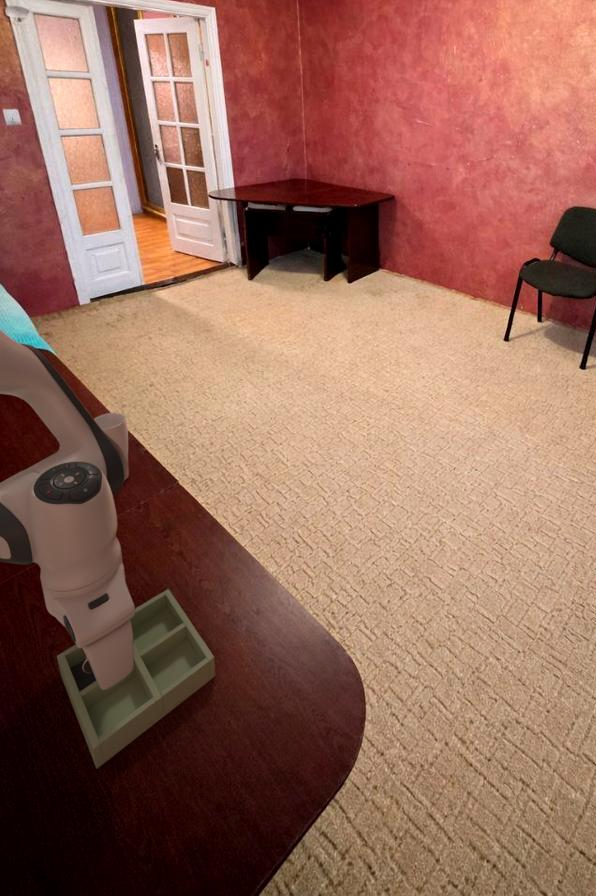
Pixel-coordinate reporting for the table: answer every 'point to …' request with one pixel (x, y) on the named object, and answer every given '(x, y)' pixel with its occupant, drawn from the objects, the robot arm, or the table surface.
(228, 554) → the table surface
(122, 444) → the drinking glass
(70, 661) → the tray
